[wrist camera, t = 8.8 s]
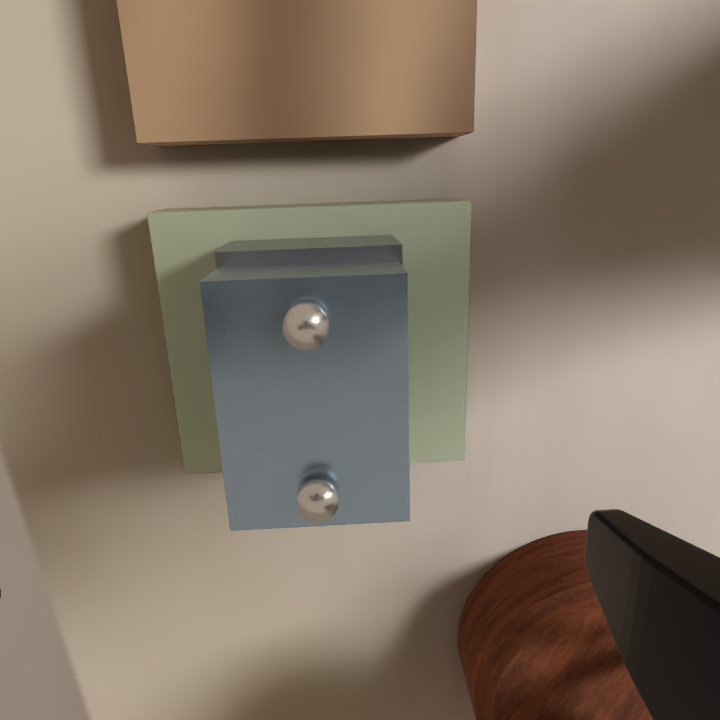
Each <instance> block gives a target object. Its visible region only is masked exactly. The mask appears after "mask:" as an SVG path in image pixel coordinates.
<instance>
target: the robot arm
mask: <svg viewBox="0 0 720 720" xmlns="http://www.w3.org/2000/svg"><path fill="white" fill-rule="evenodd" d="M585 566H586V570H587V574H588V576H589V579H590V581H591V584H592V586H593V589H594V591H595V594H596V596H597V598H598V601H599V603H600V606H601V608H602V611H603V613H604V616H605V618H606V621H607V623H608V626H609V628H610V631H611V633H612V636H613V638H614V641H615V643H616V645H617V648H618V650H619V653H620V655H621V657H622V660H623V662H624V664H625V667H626V669H627V671H628V673H629V675H630V677H631V679H632V681H633V683H634V685H635V687H636V688H637V690H638V692H639V694H640V696H641V698H642V700H643V702H644V704H645V705H646V707H647V709H648V711H649V713H650V715H651V717H652V719H653V720H720V558H719V557H717V556H715V555H713V554H711V553H709V552H707V551H705V550H703V549H701V548H699V547H697V546H694V545H692V544H690V543H688V542H686V541H684V540H682V539H680V538H678V537H676V536H674V535H672V534H670V533H667V532H665V531H663V530H661V529H659V528H657V527H655V526H653V525H651V524H649V523H647V522H645V521H643V520H640V519H638V518H636V517H634V516H632V515H630V514H628V513H626V512H624V511H622V510H618V509H611V510H596V511H593V512H592V513H591V514H590V517H589V520H588V529H587V539H586V548H585ZM0 597H1V591H0Z"/></svg>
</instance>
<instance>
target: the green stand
mask: <svg viewBox="0 0 720 720" xmlns="http://www.w3.org/2000/svg"><path fill="white" fill-rule="evenodd" d="M471 204H472V201H468V200H463V199H435V200H407V201H379V202H351V203H323V204H295V205H267V206H239V207H211V208H183V209H164V210H159V211H153V212H148V213H147V216H148V223H149V229H150V236H151V243H152V250H153V257H154V264H155V271H156V278H157V285H158V292H159V299H160V306H161V313H162V319H163V326H164V333H165V340H166V347H167V354H168V361H169V368H170V375H171V382H172V389H173V396H174V403H175V410H176V416H177V423H178V430H179V437H180V444H181V451H182V458H183V465H184V472H185V474H194V473H214V472H223V468H222V460H221V452H220V443H219V435H218V427H217V419H216V411H215V403H214V395H213V387H212V379H211V370H210V362H209V354H208V346H207V338H206V330H205V322H204V314H203V305H202V297H201V289H200V281H201V280H202V279H204V278H205V277H206V276H208V275H209V274H210V273H212V272H213V271H214V270H215V269H217V268H216V259H215V252H216V251H217V250H219V249H221V248H222V247H224V246H225V245H227V244H229V243H230V242H232V241H239V240H265V239H290V238H315V237H340V236H366V235H391V234H393V236H394V237H395V238H396V239H397V240H398V241H399V242H400V243H401V244H402V257H403V268H404V269H405V270H406V272H407V273H408V376H409V463H419V462H439V461H459V460H465V424H466V387H467V351H468V314H469V277H470V240H471Z"/></svg>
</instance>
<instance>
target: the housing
mask: <svg viewBox="0 0 720 720" xmlns="http://www.w3.org/2000/svg"><path fill="white" fill-rule="evenodd" d="M215 259H216V268H217V269H215V270H214V271H213V272H212V273H210V274H209V275H208V276H206V277H205V278H204V279H202V280H201V281H200V289H201V297H202V305H203V314H204V322H205V330H206V338H207V346H208V354H209V362H210V370H211V379H212V387H213V395H214V403H215V411H216V419H217V427H218V435H219V443H220V452H221V460H222V468H223V476H224V484H225V492H226V500H227V508H228V517H229V525H230V531H234V530H253V529H272V528H290V527H309V526H328V525H346V524H365V523H383V522H402V521H410V490H409V376H408V273H407V272H406V270H405V269H404V268H403V257H402V244H401V243H400V242H399V241H398V240H397V239H396V238H395V237H394V236H393V234H391V235H366V236H340V237H315V238H290V239H265V240H239V241H232V242H230V243H229V244H227V245H225V246H224V247H222V248H221V249H219V250H217V251H216V252H215Z"/></svg>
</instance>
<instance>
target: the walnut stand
mask: <svg viewBox="0 0 720 720" xmlns="http://www.w3.org/2000/svg"><path fill="white" fill-rule="evenodd" d="M116 1H117V8H118V15H119V22H120V29H121V36H122V42H123V49H124V56H125V63H126V70H127V77H128V84H129V91H130V98H131V105H132V112H133V119H134V126H135V132H136V139H137V143H141V144H147V145H153V146H181V145H212V144H243V143H273V142H304V141H335V140H365V139H396V138H427V137H458V136H463V135H466V134H469V133H472V132H473V130H474V94H475V57H476V20H477V0H116Z"/></svg>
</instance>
